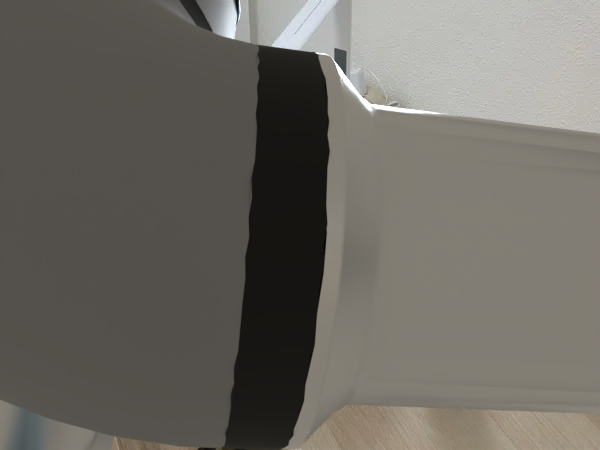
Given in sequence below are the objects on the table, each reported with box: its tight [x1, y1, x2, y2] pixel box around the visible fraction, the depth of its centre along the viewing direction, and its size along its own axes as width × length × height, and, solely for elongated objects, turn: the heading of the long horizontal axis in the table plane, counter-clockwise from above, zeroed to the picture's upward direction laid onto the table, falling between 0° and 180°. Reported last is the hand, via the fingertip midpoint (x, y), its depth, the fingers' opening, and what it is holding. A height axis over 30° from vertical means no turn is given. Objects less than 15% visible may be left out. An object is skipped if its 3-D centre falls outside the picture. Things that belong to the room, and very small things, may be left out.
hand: (513, 304), depth 57 cm, fingers open, 13 cm apart
